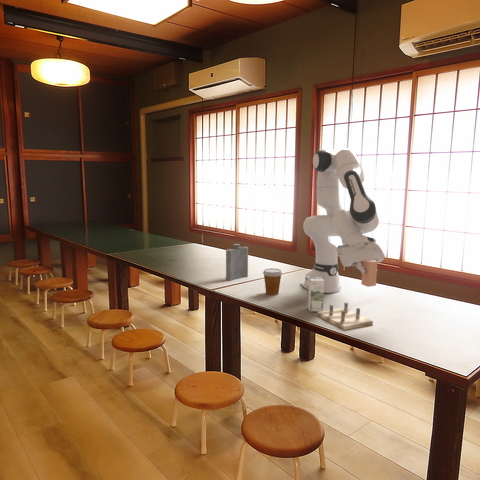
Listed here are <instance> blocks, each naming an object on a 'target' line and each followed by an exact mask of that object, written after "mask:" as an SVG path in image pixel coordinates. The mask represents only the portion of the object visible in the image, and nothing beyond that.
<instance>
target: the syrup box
mask: <svg viewBox="0 0 480 480" xmlns="http://www.w3.org/2000/svg"><path fill="white" fill-rule="evenodd" d="M324 294H325V293H324V280H323V279H322V278H321V277H309V280H308V289H307V309H308V311H309V312H310V313H317V312H321V311H324V310H323V309H324Z"/></svg>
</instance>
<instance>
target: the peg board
mask: <svg viewBox="0 0 480 480" xmlns="http://www.w3.org/2000/svg"><path fill="white" fill-rule="evenodd" d="M343 304H344V305H343V306H344V307H340V308H334V305H333V304H330V305H329V309H327V310H323V311H321V312H316V313H317V314H316V315H317V316H318V317H320V318H322V319H324V320H325V321H327V322H329V323H331V324H333V325H334V326H336V327H338V328H340V329H342V330H344V331H347V330H351V329H358V328H361V327H367V326H373V323H374V321H373V320H371V319H370V318H367V317H365V316H363V315H361V308H360V307H357V308H356V311H352V310H350V309H348V305H349V303H348V302H344V303H343Z"/></svg>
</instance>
